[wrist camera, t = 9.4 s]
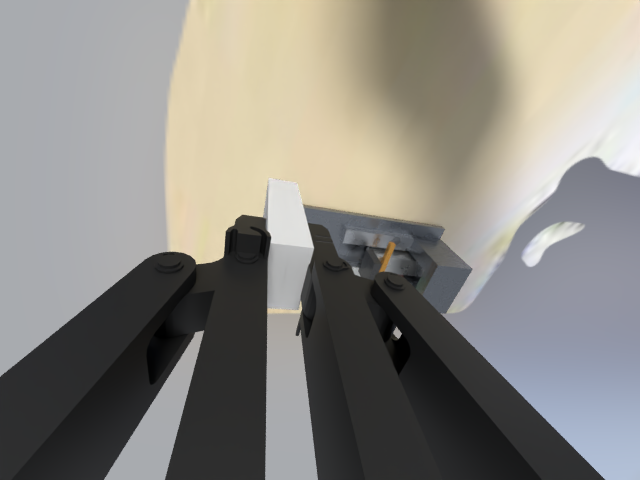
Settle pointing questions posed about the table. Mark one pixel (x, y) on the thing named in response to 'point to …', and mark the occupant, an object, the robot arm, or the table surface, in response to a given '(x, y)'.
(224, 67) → the table surface
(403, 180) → the table surface
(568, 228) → the table surface
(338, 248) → the gauge base
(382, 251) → the orange-striped grey block
